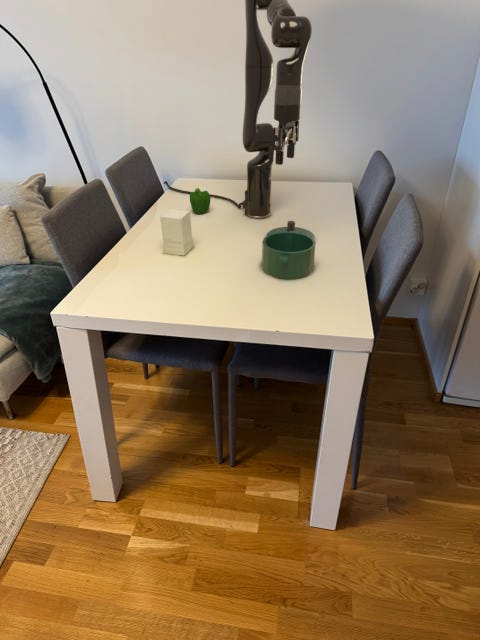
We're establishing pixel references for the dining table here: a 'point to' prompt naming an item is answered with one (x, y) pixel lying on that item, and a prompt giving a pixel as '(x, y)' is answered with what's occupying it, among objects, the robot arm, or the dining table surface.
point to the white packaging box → (176, 232)
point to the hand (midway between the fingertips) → (284, 161)
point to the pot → (288, 255)
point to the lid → (291, 229)
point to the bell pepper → (200, 201)
